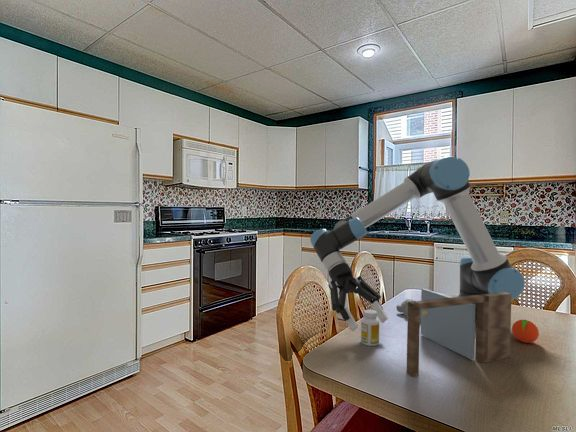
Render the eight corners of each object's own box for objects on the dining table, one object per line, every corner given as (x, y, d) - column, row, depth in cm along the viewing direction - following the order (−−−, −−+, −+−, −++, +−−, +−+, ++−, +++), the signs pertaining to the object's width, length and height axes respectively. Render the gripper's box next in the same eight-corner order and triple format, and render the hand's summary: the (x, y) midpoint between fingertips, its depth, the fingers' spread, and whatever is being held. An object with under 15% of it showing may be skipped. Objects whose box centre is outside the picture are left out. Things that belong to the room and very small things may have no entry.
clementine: (536, 349, 97) (537, 326, 97) (509, 343, 102) (509, 320, 102) (539, 342, 103) (540, 319, 103) (513, 336, 108) (514, 314, 108)
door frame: (502, 354, 94) (504, 292, 93) (509, 357, 92) (511, 293, 91) (406, 373, 82) (408, 301, 81) (412, 376, 80) (413, 304, 80)
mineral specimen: (441, 324, 118) (442, 305, 118) (427, 326, 116) (427, 308, 115) (409, 311, 133) (410, 295, 133) (396, 313, 130) (396, 297, 130)
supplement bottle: (379, 340, 102) (380, 309, 102) (378, 347, 97) (378, 315, 97) (361, 338, 104) (362, 308, 104) (359, 344, 99) (360, 313, 99)
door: (476, 358, 90) (478, 304, 89) (468, 360, 89) (469, 305, 88) (425, 333, 108) (426, 288, 107) (418, 334, 107) (419, 289, 106)
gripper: (357, 271, 121) (389, 323, 109) (303, 278, 107) (334, 339, 95) (368, 259, 117) (403, 311, 105) (314, 264, 102) (347, 326, 90)
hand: (370, 325), depth 100 cm, fingers open, 13 cm apart
